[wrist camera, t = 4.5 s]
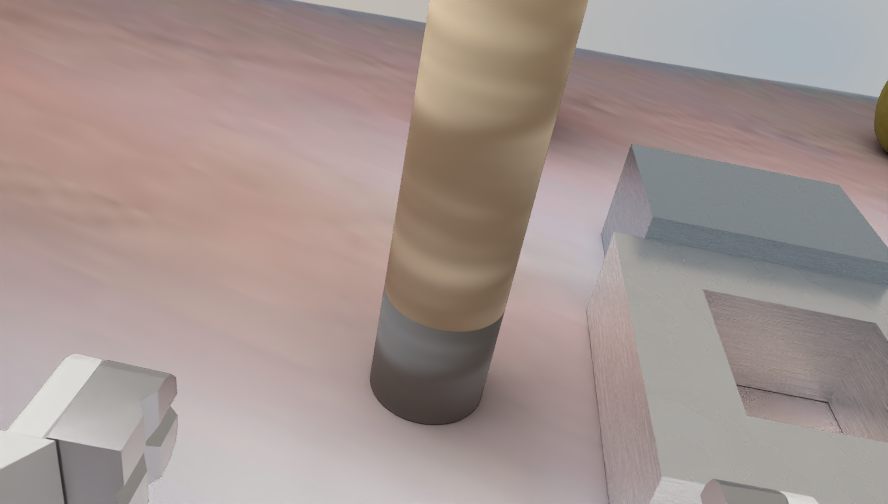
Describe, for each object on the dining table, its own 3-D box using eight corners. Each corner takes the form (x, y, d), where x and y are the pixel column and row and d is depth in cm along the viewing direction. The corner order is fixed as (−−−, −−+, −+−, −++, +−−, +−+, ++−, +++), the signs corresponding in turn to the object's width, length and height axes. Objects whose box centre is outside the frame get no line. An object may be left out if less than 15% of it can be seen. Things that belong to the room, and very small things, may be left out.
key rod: (402, 437, 24) (519, -147, 15) (351, 358, 27) (426, -177, 18) (503, 407, 26) (659, -126, 17) (446, 336, 29) (556, -156, 20)
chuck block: (617, 570, 22) (675, 449, 19) (577, 228, 38) (605, 138, 35) (1041, 650, 22) (1158, 542, 19) (818, 276, 38) (864, 190, 36)
